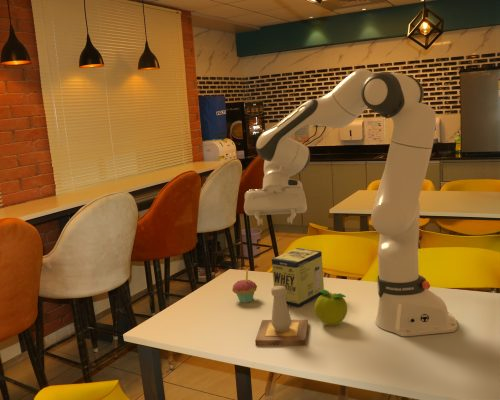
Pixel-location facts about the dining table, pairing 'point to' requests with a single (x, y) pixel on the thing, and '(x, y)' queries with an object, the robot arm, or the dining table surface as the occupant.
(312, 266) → the protein box
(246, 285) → the cupcake
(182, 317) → the dining table surface
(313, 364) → the dining table surface
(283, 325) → the salt shaker
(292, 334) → the base board
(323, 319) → the fruit
